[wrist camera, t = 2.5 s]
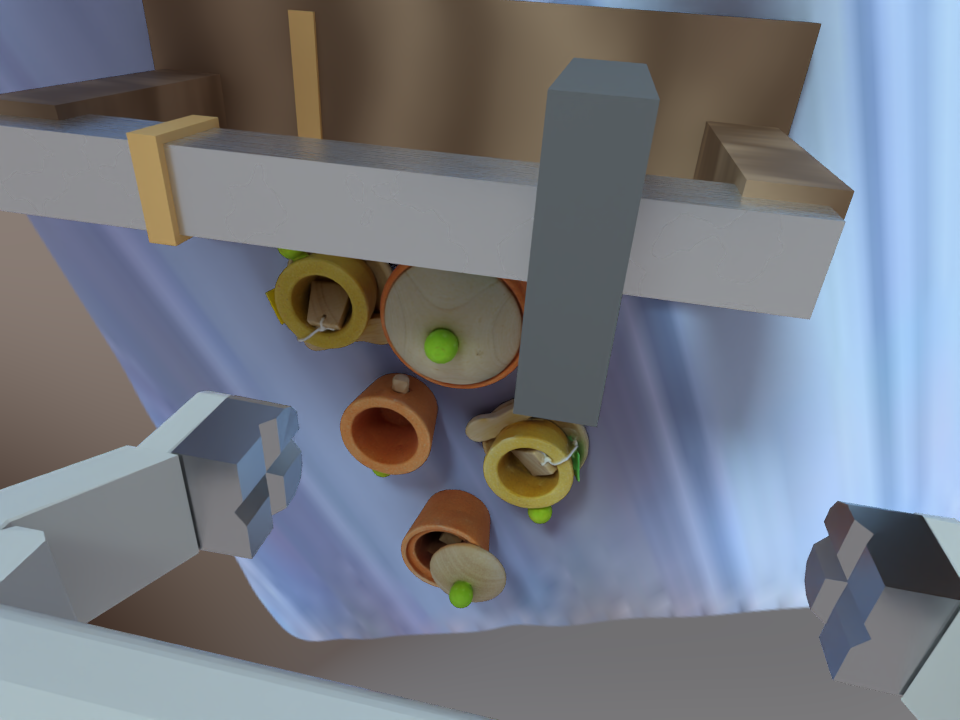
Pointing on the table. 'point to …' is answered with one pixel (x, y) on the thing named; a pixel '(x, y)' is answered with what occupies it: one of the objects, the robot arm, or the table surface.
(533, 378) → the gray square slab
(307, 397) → the table surface
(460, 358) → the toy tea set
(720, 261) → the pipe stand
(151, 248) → the table surface
